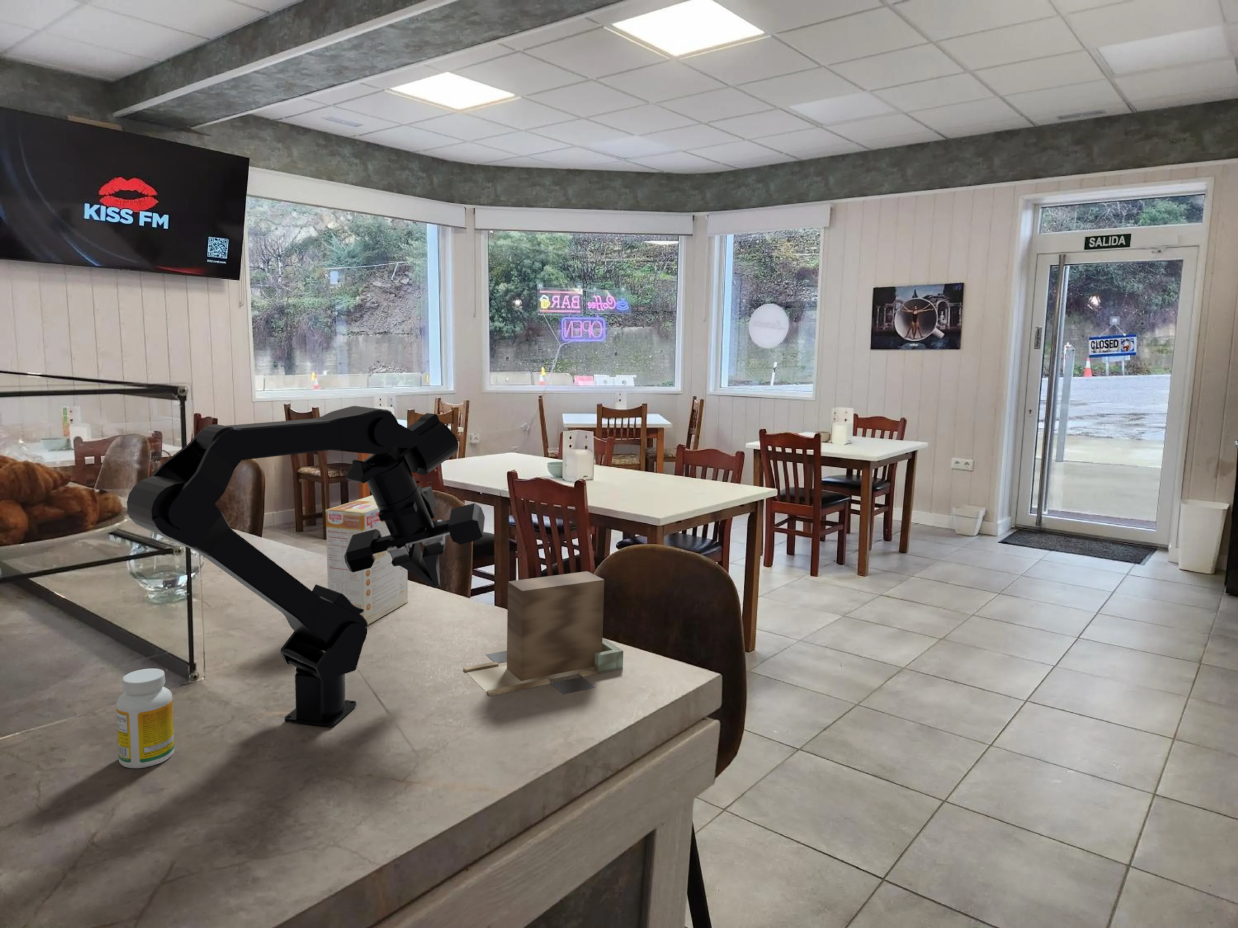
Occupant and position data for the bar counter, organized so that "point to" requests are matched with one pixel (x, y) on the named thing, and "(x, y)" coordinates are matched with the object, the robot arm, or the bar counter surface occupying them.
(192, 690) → the bar counter surface
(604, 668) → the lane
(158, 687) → the supplement bottle
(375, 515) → the coffeecake box
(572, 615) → the walnut block
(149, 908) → the bar counter surface
